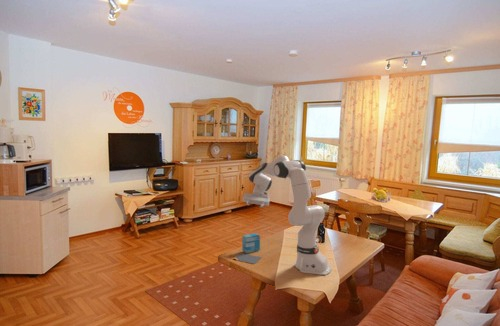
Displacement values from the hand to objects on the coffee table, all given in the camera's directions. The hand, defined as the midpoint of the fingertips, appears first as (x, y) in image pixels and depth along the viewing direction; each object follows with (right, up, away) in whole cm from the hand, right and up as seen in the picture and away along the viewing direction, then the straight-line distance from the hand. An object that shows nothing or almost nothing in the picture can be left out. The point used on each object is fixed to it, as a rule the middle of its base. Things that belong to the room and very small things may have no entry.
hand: (254, 205), depth 224 cm
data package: (-2, -33, -3) cm, 33 cm away
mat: (-5, -34, -15) cm, 38 cm away
